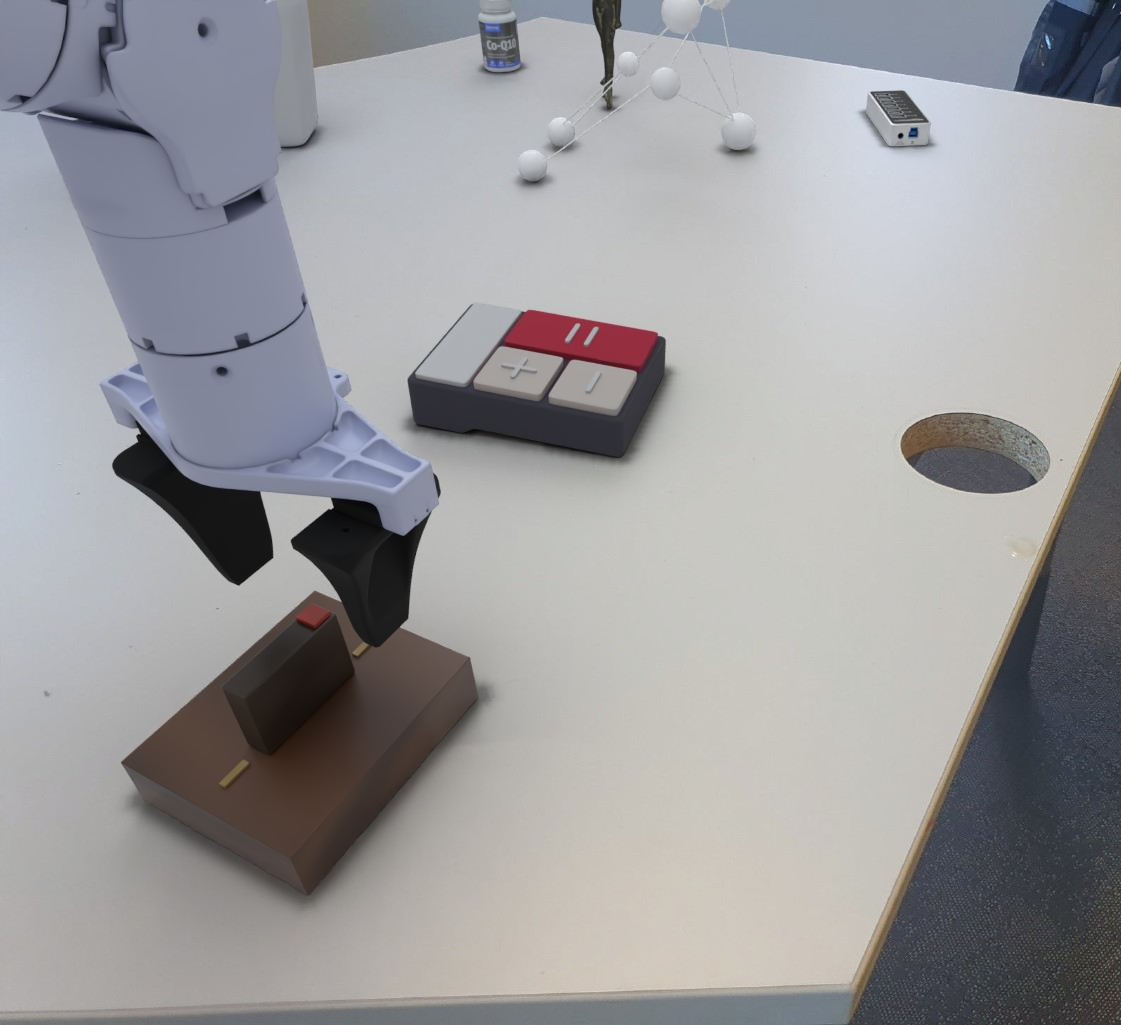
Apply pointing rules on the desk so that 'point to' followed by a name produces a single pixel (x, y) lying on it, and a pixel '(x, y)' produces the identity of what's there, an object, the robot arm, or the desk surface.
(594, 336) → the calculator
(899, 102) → the multiport hub
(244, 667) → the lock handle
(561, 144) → the molecule model
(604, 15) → the statue
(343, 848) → the plate
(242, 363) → the robot arm
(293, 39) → the radio
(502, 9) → the pill bottle
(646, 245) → the desk surface
